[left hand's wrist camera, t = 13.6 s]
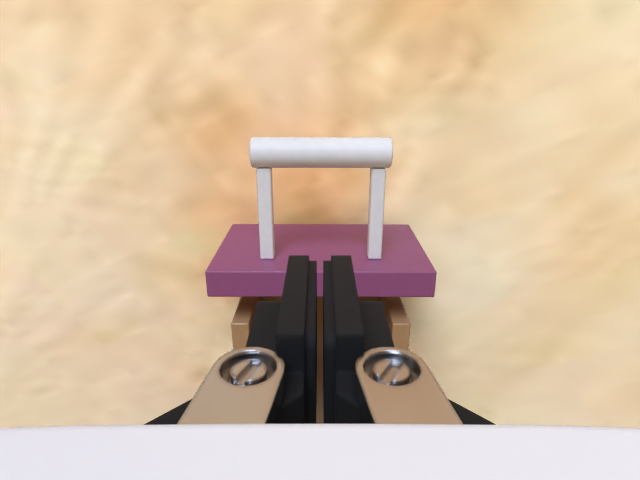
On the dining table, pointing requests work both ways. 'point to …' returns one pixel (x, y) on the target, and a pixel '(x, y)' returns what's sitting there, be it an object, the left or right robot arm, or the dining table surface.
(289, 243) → the drawer
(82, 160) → the dining table surface
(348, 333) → the left robot arm
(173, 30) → the dining table surface
